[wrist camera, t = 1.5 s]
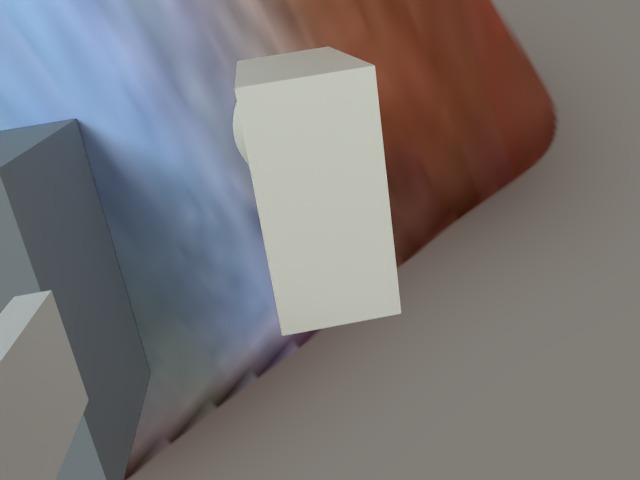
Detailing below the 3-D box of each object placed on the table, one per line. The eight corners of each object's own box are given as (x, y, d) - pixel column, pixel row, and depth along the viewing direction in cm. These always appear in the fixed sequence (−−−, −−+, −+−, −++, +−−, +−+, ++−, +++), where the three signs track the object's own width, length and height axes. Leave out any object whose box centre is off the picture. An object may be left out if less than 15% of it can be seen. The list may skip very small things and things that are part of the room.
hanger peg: (247, 200, 35) (251, 341, 20) (219, 55, 32) (198, 93, 17) (350, 182, 35) (430, 308, 20) (332, 37, 32) (409, 60, 17)
